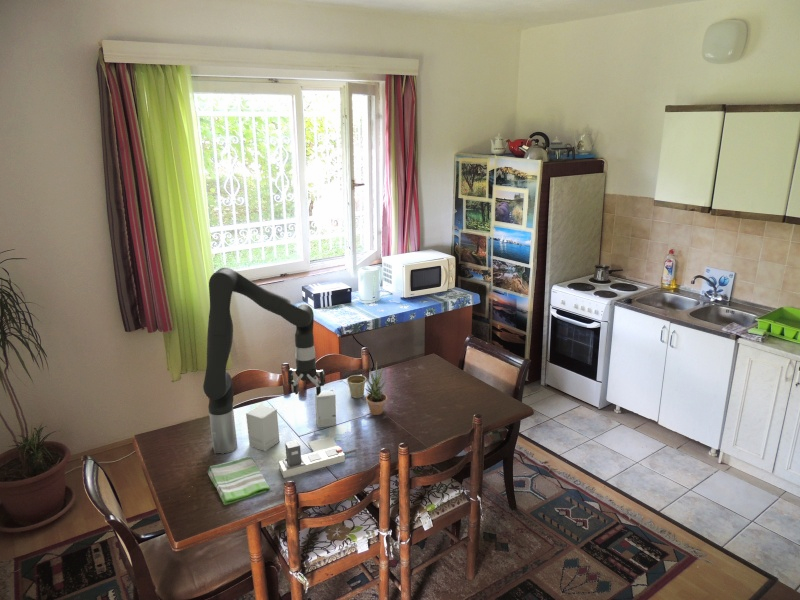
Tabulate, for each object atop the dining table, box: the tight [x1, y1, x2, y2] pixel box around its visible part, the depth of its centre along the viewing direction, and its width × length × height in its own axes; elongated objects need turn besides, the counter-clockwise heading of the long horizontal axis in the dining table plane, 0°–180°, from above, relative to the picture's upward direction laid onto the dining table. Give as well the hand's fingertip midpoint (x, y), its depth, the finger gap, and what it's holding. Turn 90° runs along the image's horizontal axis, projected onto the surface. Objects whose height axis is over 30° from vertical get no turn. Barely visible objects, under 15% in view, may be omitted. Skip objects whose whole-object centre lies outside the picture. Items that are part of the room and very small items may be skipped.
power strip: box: [278, 445, 357, 479], centre depth 218 cm, size 30×7×4 cm, turn 116°
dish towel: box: [207, 456, 271, 506], centre depth 207 cm, size 17×23×4 cm
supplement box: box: [245, 404, 281, 452], centre depth 230 cm, size 9×9×15 cm
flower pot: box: [346, 374, 367, 399], centre depth 271 cm, size 9×9×9 cm
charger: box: [284, 439, 302, 467], centre depth 212 cm, size 4×5×8 cm
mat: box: [307, 436, 339, 453], centre depth 229 cm, size 10×10×1 cm
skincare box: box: [314, 389, 337, 429], centre depth 245 cm, size 8×6×15 cm
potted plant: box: [364, 361, 388, 416], centre depth 253 cm, size 10×10×25 cm
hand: (307, 394), depth 223 cm, fingers open, 8 cm apart
